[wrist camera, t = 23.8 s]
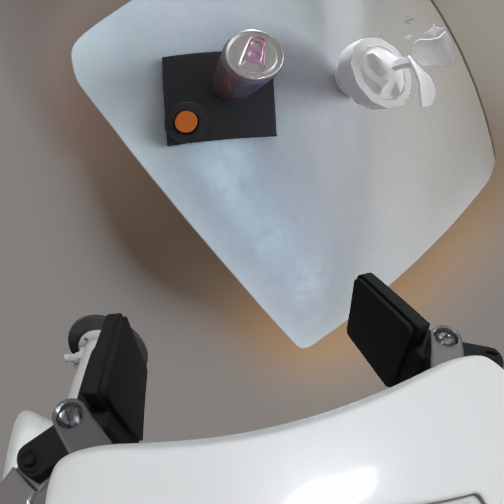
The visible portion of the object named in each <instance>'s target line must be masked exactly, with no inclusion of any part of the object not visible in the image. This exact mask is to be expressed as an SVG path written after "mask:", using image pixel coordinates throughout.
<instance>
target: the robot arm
mask: <svg viewBox="0 0 504 504" xmlns="http://www.w3.org/2000/svg"><path fill="white" fill-rule="evenodd" d="M429 326H430V324H429V323H428V322H427V321H426V320H425V319H424V318H423V317H422V316H420V314H419V313H417V312H416V311H415V310H414V309H413V308H412V307H411V306H410V305H408V304H407V303H406V302H405V301H404V300H403V299H402V298H400V297H399V296H398V295H397V294H396V293H395V292H394V291H392V290H391V289H390V288H389V287H388V286H387V285H385V284H384V283H383V282H382V281H381V280H380V279H378V278H377V277H376V276H375V275H374V274H372V273H367V274H362V275H359V276H358V277H357V279H356V280H355V281H354V287H353V294H352V301H351V308H350V314H349V320H348V326H347V333H348V335H349V337H350V338H351V340H352V341H353V342H354V343H355V345H356V346H357V348H358V349H359V350H360V351H361V353H362V354H363V355H364V357H365V358H366V360H367V361H368V362H369V364H370V365H371V366H372V368H373V369H374V371H375V372H376V373H377V375H378V376H379V377H380V379H381V380H382V381H383V382H384V384H385V385H386V386H387V387H390V388H388V389H386V390H384V391H381V392H379V393H377V394H374V395H372V396H369V397H367V398H364V399H362V400H359V401H356V402H354V403H351V404H348V405H346V406H343V407H340V408H337V409H334V410H331V411H328V412H325V413H322V414H319V415H316V416H312V417H309V418H305V419H301V420H298V421H294V422H291V423H286V424H283V425H278V426H274V427H270V428H265V429H260V430H255V431H251V432H245V433H240V434H233V435H227V436H220V437H213V438H205V439H195V440H184V441H173V442H154V443H139V440H140V441H141V440H142V439H143V423H144V422H143V421H144V406H145V392H146V381H147V366H146V363H145V361H144V359H143V356H142V354H141V352H140V349H139V347H138V344H137V342H136V339H135V337H134V334H133V332H132V329H131V327H130V324H129V321H128V319H127V317H123V316H122V314H120V313H118V314H109V315H107V316H106V318H105V321H104V323H103V326H102V329H101V330H92V331H89V332H86V333H85V334H84V335H83V336H82V337H81V339H80V341H79V352H76V353H75V354H72V353H71V354H70V353H67V354H65V355H64V360H65V361H66V362H77V363H74V368H75V369H77V371H76V374H75V377H74V380H73V383H72V386H71V389H70V392H69V396H68V399H66V400H63V401H61V402H60V403H59V404H57V406H56V407H55V409H54V411H53V413H52V421H53V422H52V421H50V420H48V419H46V418H44V417H42V416H40V415H39V414H37V413H34V412H32V411H27V410H26V411H22V412H21V413H20V414H19V415H18V417H17V419H16V421H15V424H14V427H13V431H12V434H11V439H10V443H9V448H8V452H7V457H6V463H5V469H4V476H3V481H2V482H1V484H0V504H504V362H503V359H502V356H501V355H500V353H499V352H498V351H497V350H496V349H493V348H490V347H485V346H480V345H474V344H469V343H464V342H462V339H461V336H460V334H459V333H458V331H456V330H455V329H454V328H451V327H449V326H445V325H439V326H436V327H434V328H433V329H432V330H431V331H430V330H429V329H428V328H429Z"/></svg>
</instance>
